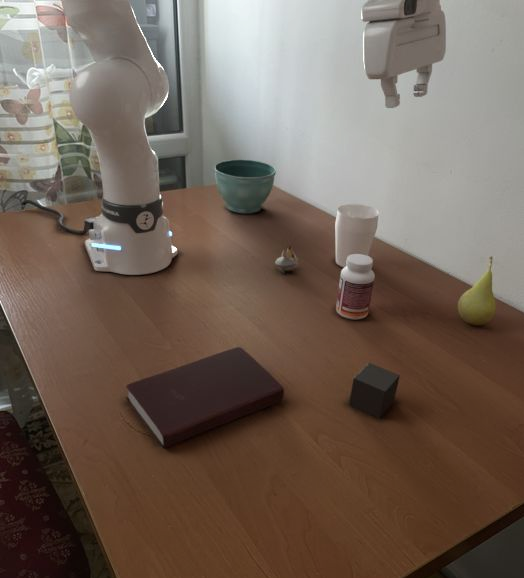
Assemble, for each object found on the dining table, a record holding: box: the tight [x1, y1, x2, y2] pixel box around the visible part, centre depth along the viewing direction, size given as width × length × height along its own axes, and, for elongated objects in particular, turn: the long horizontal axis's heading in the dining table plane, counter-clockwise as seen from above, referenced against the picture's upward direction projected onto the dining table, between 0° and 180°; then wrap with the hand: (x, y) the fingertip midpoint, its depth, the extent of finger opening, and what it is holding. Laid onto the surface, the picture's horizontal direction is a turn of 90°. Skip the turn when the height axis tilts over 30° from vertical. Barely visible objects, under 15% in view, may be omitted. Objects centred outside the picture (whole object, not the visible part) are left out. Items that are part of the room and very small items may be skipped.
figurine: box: [274, 245, 299, 274], centre depth 116 cm, size 5×4×6 cm
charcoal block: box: [348, 362, 401, 419], centre depth 80 cm, size 5×5×5 cm
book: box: [125, 346, 285, 449], centre depth 79 cm, size 12×19×3 cm, turn 124°
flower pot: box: [213, 159, 277, 214], centre depth 146 cm, size 16×16×11 cm
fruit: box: [457, 255, 497, 326], centre depth 100 cm, size 7×8×12 cm
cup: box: [334, 203, 380, 268], centre depth 120 cm, size 9×9×12 cm
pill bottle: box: [335, 254, 375, 321], centre depth 101 cm, size 6×6×11 cm
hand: (406, 101), depth 89 cm, fingers open, 8 cm apart
